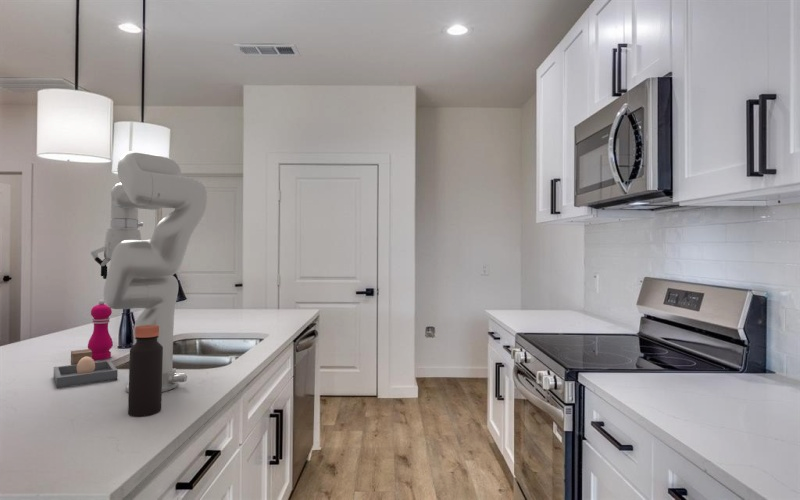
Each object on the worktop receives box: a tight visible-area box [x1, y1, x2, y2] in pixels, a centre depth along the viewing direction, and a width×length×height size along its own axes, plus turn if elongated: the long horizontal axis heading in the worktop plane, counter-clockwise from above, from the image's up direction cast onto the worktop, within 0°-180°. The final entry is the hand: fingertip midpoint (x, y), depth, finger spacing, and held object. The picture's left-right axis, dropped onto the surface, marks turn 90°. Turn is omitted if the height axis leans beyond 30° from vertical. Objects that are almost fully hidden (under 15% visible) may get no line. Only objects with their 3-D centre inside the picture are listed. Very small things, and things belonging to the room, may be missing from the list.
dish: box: [53, 360, 119, 389], centre depth 131 cm, size 14×14×3 cm
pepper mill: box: [87, 299, 114, 361], centre depth 155 cm, size 7×7×20 cm
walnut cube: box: [70, 348, 92, 365], centre depth 143 cm, size 5×5×5 cm
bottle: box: [127, 325, 163, 418], centre depth 105 cm, size 7×7×20 cm
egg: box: [77, 357, 96, 374], centre depth 131 cm, size 4×4×6 cm
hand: (122, 278), depth 144 cm, fingers open, 9 cm apart
